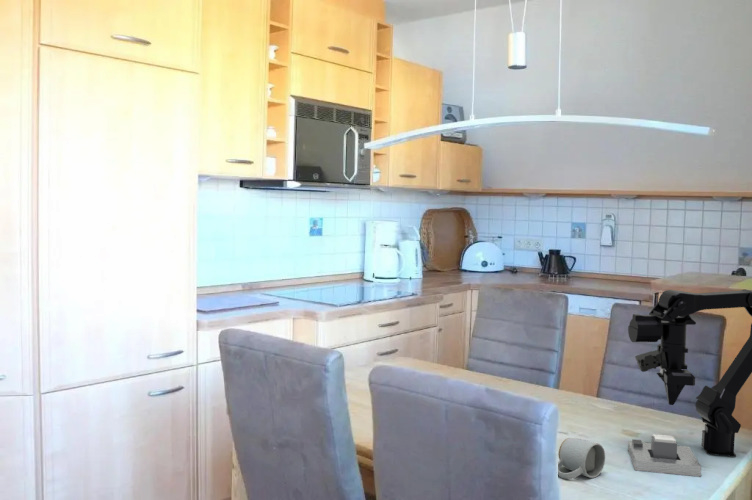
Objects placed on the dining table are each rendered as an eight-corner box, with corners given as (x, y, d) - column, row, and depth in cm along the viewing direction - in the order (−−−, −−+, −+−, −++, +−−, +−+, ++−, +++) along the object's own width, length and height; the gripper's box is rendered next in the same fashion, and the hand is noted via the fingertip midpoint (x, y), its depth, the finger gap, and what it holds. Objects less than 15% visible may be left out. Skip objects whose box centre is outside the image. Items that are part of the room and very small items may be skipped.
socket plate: (688, 456, 171) (689, 443, 170) (700, 476, 158) (701, 462, 158) (627, 450, 174) (628, 438, 173) (635, 470, 161) (635, 456, 161)
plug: (672, 462, 166) (674, 435, 166) (675, 469, 162) (677, 441, 162) (650, 460, 167) (651, 433, 167) (653, 466, 164) (654, 439, 163)
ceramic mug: (575, 462, 165) (576, 430, 164) (605, 473, 158) (606, 440, 158) (546, 473, 159) (547, 440, 158) (576, 485, 152) (577, 451, 151)
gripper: (632, 333, 182) (630, 392, 183) (646, 348, 164) (644, 414, 165) (677, 335, 180) (675, 394, 181) (696, 350, 162) (694, 416, 163)
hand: (670, 404), depth 173 cm, fingers closed
